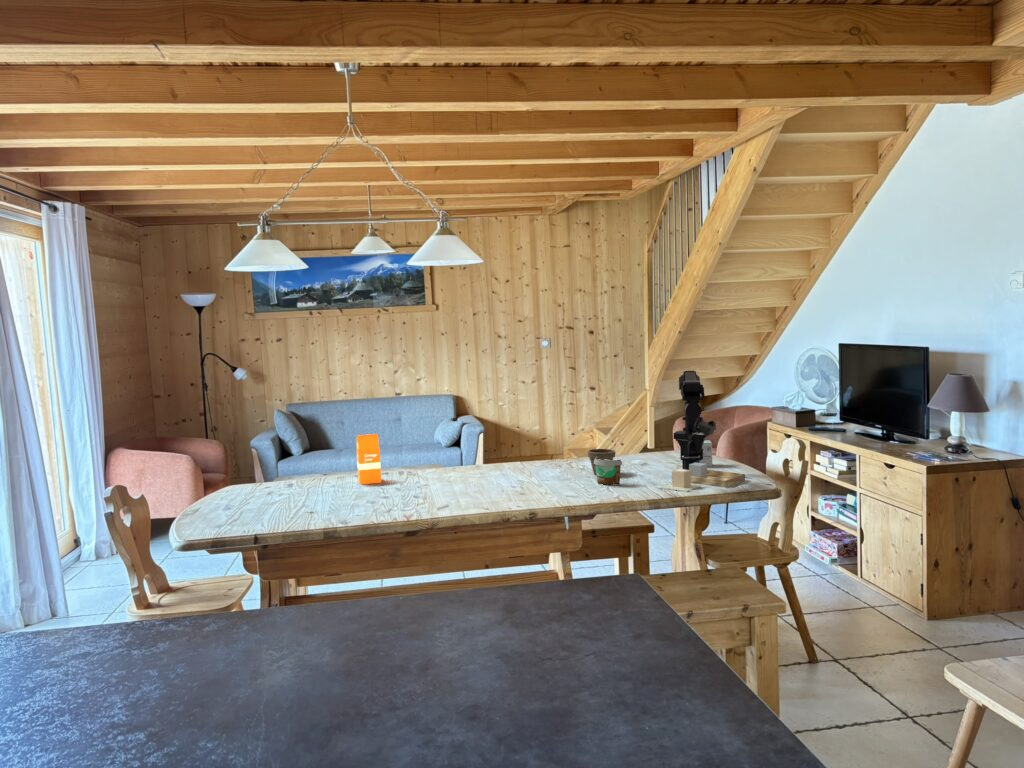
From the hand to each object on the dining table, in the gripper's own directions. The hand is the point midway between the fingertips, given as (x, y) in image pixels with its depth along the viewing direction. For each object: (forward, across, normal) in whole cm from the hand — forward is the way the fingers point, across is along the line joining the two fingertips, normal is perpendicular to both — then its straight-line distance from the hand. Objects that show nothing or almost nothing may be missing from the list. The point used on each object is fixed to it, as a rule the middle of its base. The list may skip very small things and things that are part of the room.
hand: (693, 454), depth 290 cm
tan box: (+11, -7, +1) cm, 13 cm away
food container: (+12, -17, +29) cm, 36 cm away
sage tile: (+12, -7, +1) cm, 14 cm away
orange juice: (+12, -69, +114) cm, 133 cm away
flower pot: (+12, -3, +42) cm, 43 cm away
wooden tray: (+12, +8, -2) cm, 15 cm away
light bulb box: (+13, +35, +18) cm, 41 cm away
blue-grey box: (+11, +8, +3) cm, 14 cm away
